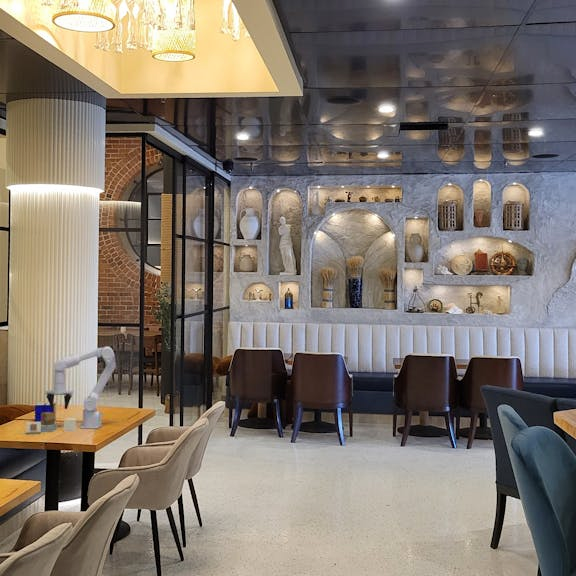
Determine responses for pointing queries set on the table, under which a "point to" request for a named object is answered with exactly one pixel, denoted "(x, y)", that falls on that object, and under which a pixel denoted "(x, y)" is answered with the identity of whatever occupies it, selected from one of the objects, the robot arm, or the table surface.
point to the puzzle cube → (43, 410)
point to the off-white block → (70, 424)
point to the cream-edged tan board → (33, 427)
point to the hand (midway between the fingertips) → (59, 408)
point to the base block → (48, 428)
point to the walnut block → (47, 418)
